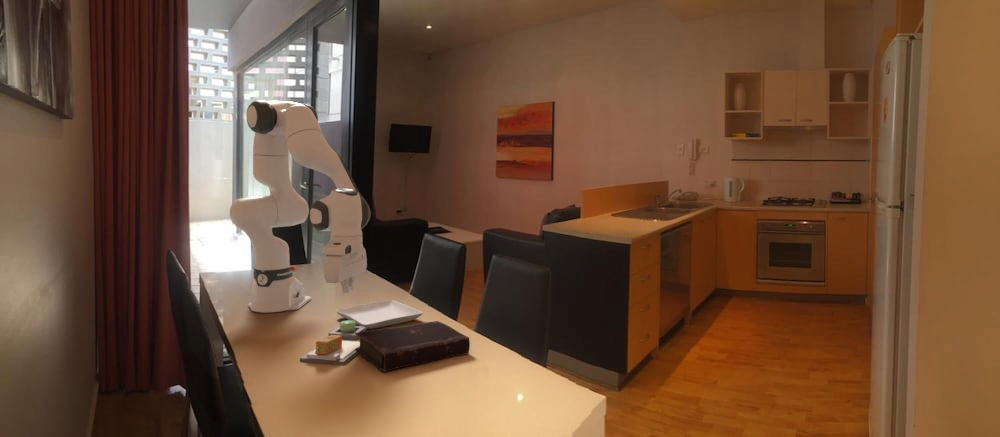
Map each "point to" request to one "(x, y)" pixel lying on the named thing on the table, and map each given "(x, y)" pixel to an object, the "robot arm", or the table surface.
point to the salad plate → (379, 314)
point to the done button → (347, 326)
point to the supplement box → (328, 344)
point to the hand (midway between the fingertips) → (347, 292)
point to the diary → (411, 344)
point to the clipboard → (334, 354)
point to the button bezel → (348, 335)
